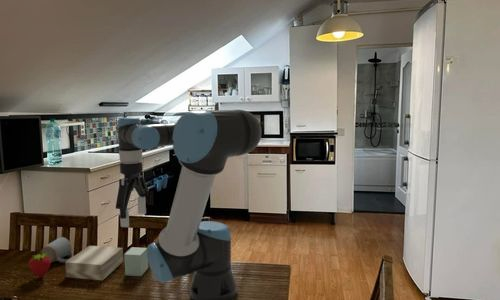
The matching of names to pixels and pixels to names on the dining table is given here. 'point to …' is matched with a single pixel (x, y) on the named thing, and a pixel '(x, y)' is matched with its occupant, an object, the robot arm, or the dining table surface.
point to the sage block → (136, 261)
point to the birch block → (94, 262)
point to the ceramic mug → (58, 250)
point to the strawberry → (40, 264)
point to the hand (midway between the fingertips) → (134, 219)
